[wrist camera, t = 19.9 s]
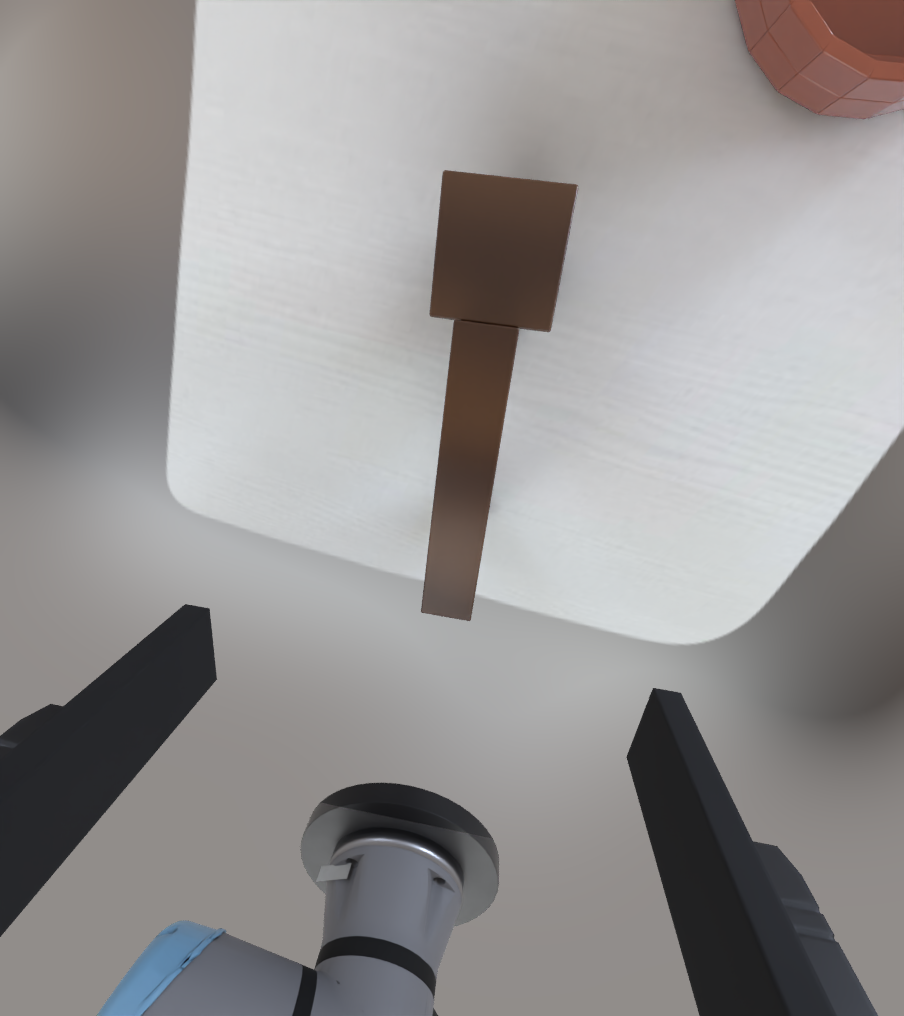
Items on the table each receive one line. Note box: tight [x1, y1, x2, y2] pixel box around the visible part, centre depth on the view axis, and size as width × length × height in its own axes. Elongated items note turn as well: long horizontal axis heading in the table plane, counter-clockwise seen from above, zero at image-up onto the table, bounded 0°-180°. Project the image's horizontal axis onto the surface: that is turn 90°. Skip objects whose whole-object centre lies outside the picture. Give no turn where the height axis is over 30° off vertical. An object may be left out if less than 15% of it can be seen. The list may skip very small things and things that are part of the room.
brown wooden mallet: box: [421, 170, 578, 621], centre depth 23 cm, size 18×5×12 cm, turn 173°
